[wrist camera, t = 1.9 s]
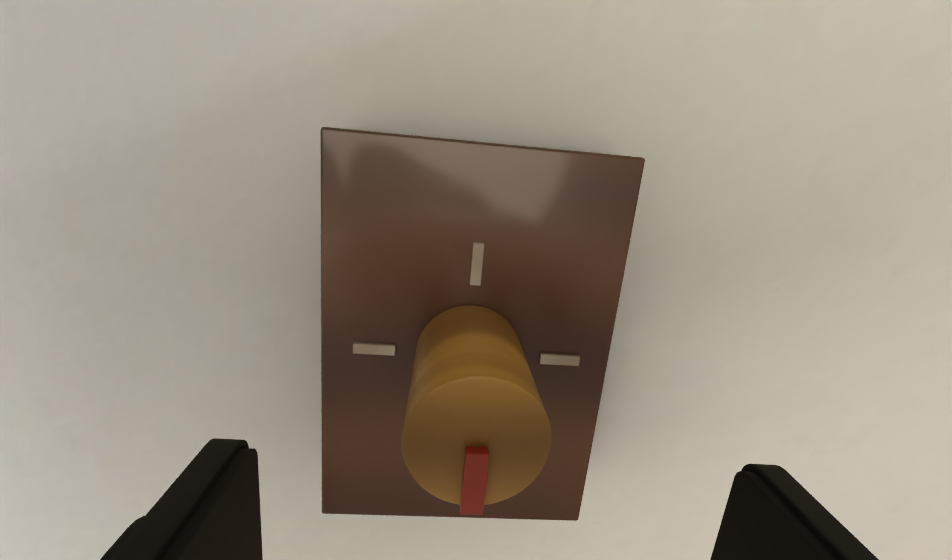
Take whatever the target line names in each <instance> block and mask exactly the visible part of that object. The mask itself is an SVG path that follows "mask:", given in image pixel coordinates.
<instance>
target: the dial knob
mask: <svg viewBox="0 0 952 560" xmlns="http://www.w3.org/2000/svg"><path fill="white" fill-rule="evenodd" d="M401 442H402V453H403V458H404V461H405V464H406V466H407V468H408V470H409V472H410V474H411V475H412V476H413V478H414V479H415V481H416V482H417V483H418V484H419V485H420V486H421V487H422V488H424V489H425V490H426V491H427V492H429V493H430V494H432V495H434V496H435V497H437V498H440V499H442V500H444V501H447V502H450V503H454V504H459V505H460V514H473V515H482V514H483V508H484V505H488V504H493V503H497V502H500V501H503V500H505V499H508V498H510V497H512V496H514V495H516V494H517V493H519V492H521V491H522V490H524V489H525V488H526V487H527V486H528V485H530V484H531V483H532V482H533V481H534V480H535V478H536V477H537V476H538V475H539V473H540V472H541V470H542V469H543V467H544V465H545V463H546V461H547V458H548V455H549V452H550V447H551V428H550V423H549V420H548V417H547V414H546V412H545V409H544V406H543V404H542V401H541V398H540V395H539V393H538V390H537V387H536V385H535V382H534V379H533V377H532V374H531V371H530V369H529V366H528V363H527V361H526V358H525V355H524V352H523V350H522V347H521V344H520V342H519V339H518V336H517V334H516V332H515V330H514V328H513V327H512V326H511V324H510V323H509V322H508V321H507V320H506V319H505V318H504V317H503V316H501V315H500V314H499V313H497V312H495V311H493V310H491V309H488V308H485V307H481V306H475V305H464V306H457V307H453V308H450V309H448V310H445V311H443V312H442V313H440V314H438V315H437V316H435V317H434V318H433V319H432V320H431V321H430V322H429V323H428V324H427V325H426V326H425V328H424V329H423V331H422V332H421V334H420V337H419V339H418V342H417V346H416V352H415V359H414V365H413V371H412V377H411V383H410V389H409V395H408V401H407V407H406V413H405V420H404V426H403V432H402V440H401Z"/></svg>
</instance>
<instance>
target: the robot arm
mask: <svg viewBox="0 0 952 560" xmlns="http://www.w3.org/2000/svg"><path fill="white" fill-rule="evenodd" d="M100 560H263V559H262V538H261V517H260V496H259V475H258V455H257V451H256V449H249V446H248V443H247V441H245V440H235V439H211V440H210V441H209V442H208V443H207V444H206V445H205V446H204V447H203V448H202V450H201V451H200V452H199V453H198V454H197V456H196V457H195V458H194V459H193V460H192V461H191V463H190V464H189V465H188V466H187V467H186V469H185V470H184V471H183V472H182V473H181V474H180V476H179V477H178V478H177V479H176V480H175V481H174V483H173V484H172V485H171V486H170V487H169V489H168V490H167V491H166V492H165V493H164V494H163V496H162V497H161V498H160V499H159V500H158V502H157V503H156V504H155V505H154V506H153V507H152V509H151V510H150V511H149V512H148V513H147V515H146V516H143V517H141V518H139V519H137V520H135V521H134V522H133V523H132V524H131V525H130V526H129V527H128V528H127V529H126V530H125V532H124V533H123V534H122V535H121V536H120V537H119V538H118V540H117V541H116V542H115V543H114V544H113V545H112V546H111V548H110V549H109V550H108V551H107V552H106V553H105V555H104V556H103V557H102V558H101V559H100ZM711 560H878V559H877V558H876V557H875V556H874V555H873V554H872V553H871V552H870V551H869V550H868V549H867V548H866V547H865V546H864V545H863V544H862V543H861V542H860V541H859V540H858V539H857V538H855V537H854V536H853V535H852V534H851V533H850V532H849V531H848V530H847V529H846V528H845V527H844V526H843V525H842V524H841V523H840V522H839V521H838V520H837V519H836V518H835V517H834V516H833V515H832V514H830V513H829V512H828V511H827V510H826V509H825V508H824V507H823V506H822V505H821V504H820V503H819V502H818V501H817V500H816V499H815V498H814V497H813V496H812V495H811V494H810V493H809V492H808V491H807V490H805V489H804V488H803V487H802V486H801V485H800V484H799V483H798V482H797V481H796V480H795V479H794V478H793V477H792V476H791V475H790V474H789V473H788V472H787V471H786V470H784V469H783V468H782V467H780V466H777V465H763V464H747V465H745V466H744V467H743V469H742V471H740V472H738V473H737V474H736V475H735V477H734V481H733V484H732V488H731V491H730V495H729V498H728V501H727V505H726V508H725V512H724V515H723V519H722V522H721V525H720V529H719V532H718V536H717V539H716V543H715V546H714V550H713V553H712V556H711Z"/></svg>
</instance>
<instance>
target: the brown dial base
mask: <svg viewBox="0 0 952 560" xmlns="http://www.w3.org/2000/svg"><path fill="white" fill-rule="evenodd" d="M644 162H645V159H644V158H642V157H631V156H621V155H611V154H600V153H590V152H579V151H569V150H559V149H548V148H538V147H527V146H517V145H506V144H496V143H486V142H475V141H465V140H454V139H444V138H434V137H423V136H413V135H402V134H392V133H382V132H371V131H361V130H350V129H340V128H330V127H322V128H321V381H322V513H325V514H361V515H397V516H433V517H469V518H505V519H541V520H578V517H579V512H580V506H581V501H582V496H583V490H584V485H585V479H586V474H587V469H588V463H589V458H590V453H591V447H592V442H593V436H594V431H595V426H596V420H597V415H598V409H599V404H600V399H601V393H602V388H603V383H604V377H605V372H606V366H607V361H608V356H609V350H610V345H611V340H612V334H613V329H614V323H615V318H616V313H617V307H618V302H619V297H620V291H621V286H622V280H623V275H624V270H625V264H626V259H627V253H628V248H629V243H630V237H631V232H632V227H633V221H634V216H635V210H636V205H637V200H638V194H639V189H640V184H641V178H642V173H643V167H644ZM464 305H475V306H481V307H485V308H488V309H491V310H493V311H495V312H497V313H499V314H500V315H501V316H503V317H504V318H505V319H506V320H507V321H508V322H509V323H510V324H511V326H512V327H513V328H514V330H515V332H516V334H517V336H518V339H519V342H520V344H521V347H522V350H523V352H524V355H525V358H526V361H527V363H528V366H529V369H530V371H531V374H532V377H533V379H534V382H535V385H536V387H537V390H538V393H539V395H540V398H541V401H542V404H543V406H544V409H545V412H546V414H547V417H548V420H549V423H550V428H551V447H550V452H549V455H548V458H547V461H546V463H545V465H544V467H543V469H542V470H541V472H540V473H539V475H538V476H537V477H536V478H535V480H534V481H533V482H532V483H531V484H530V485H528V486H527V487H526V488H525V489H524V490H522V491H521V492H519V493H517V494H516V495H514V496H512V497H510V498H508V499H505V500H503V501H500V502H497V503H493V504H488V505H484V508H483V514H482V515H473V514H460V505H459V504H454V503H450V502H447V501H444V500H442V499H440V498H437V497H435V496H434V495H432V494H430V493H429V492H427V491H426V490H425V489H424V488H422V487H421V486H420V485H419V484H418V483H417V482H416V481H415V479H414V478H413V476H412V475H411V474H410V472H409V470H408V468H407V466H406V464H405V461H404V458H403V453H402V442H401V440H402V432H403V426H404V420H405V413H406V407H407V401H408V395H409V389H410V383H411V377H412V371H413V365H414V359H415V352H416V346H417V342H418V339H419V337H420V334H421V332H422V331H423V329H424V328H425V326H426V325H427V324H428V323H429V322H430V321H431V320H432V319H433V318H434V317H435V316H437V315H438V314H440V313H442V312H443V311H445V310H448V309H450V308H453V307H457V306H464Z"/></svg>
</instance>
